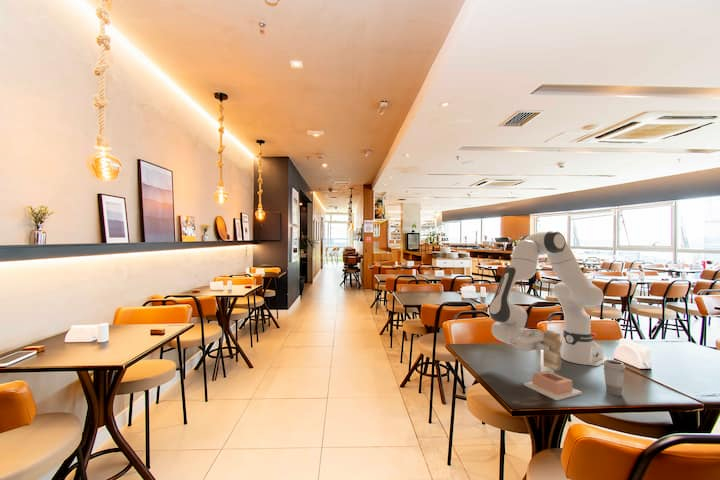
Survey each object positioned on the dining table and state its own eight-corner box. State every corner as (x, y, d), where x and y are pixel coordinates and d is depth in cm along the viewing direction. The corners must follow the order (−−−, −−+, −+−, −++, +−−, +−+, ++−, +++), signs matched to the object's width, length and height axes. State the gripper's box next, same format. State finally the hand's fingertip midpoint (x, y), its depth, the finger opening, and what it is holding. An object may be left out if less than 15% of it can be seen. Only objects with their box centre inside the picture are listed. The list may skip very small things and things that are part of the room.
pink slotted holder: (548, 380, 137) (548, 368, 137) (581, 394, 124) (581, 381, 124) (524, 385, 132) (524, 373, 132) (556, 400, 119) (556, 386, 119)
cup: (623, 391, 126) (623, 361, 127) (627, 398, 121) (627, 366, 121) (601, 387, 130) (601, 357, 130) (603, 394, 124) (603, 362, 124)
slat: (548, 364, 131) (548, 330, 131) (560, 369, 126) (560, 333, 127) (543, 365, 130) (543, 331, 130) (555, 370, 125) (555, 334, 125)
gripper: (506, 333, 136) (535, 342, 123) (540, 329, 144) (570, 337, 131) (506, 348, 136) (535, 359, 123) (540, 343, 144) (570, 352, 131)
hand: (553, 347), depth 127 cm, fingers closed on slat, 3 cm apart
